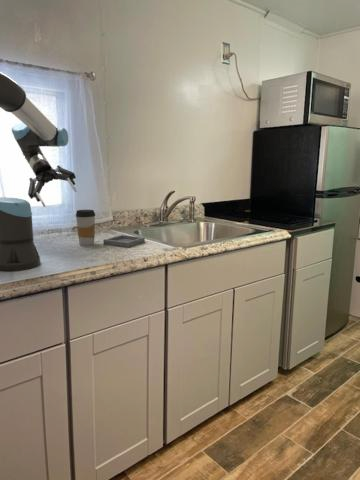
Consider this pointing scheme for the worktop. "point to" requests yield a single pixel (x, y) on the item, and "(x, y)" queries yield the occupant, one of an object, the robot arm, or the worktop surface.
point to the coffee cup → (86, 227)
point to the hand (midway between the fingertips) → (59, 196)
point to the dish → (124, 241)
